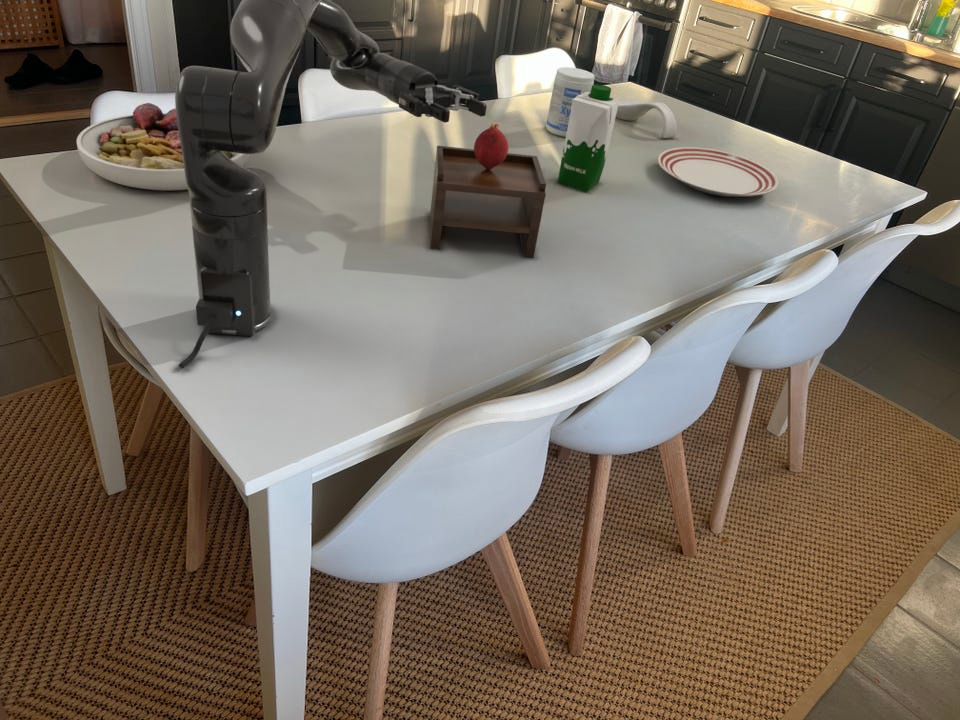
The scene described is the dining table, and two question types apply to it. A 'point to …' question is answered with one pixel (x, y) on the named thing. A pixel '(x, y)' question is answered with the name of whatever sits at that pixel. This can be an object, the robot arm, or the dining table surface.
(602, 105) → the milk carton
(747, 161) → the dinner plate
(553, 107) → the supplement tub
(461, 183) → the shelf stand
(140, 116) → the bowl
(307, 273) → the dining table surface
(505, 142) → the onion
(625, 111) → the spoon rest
